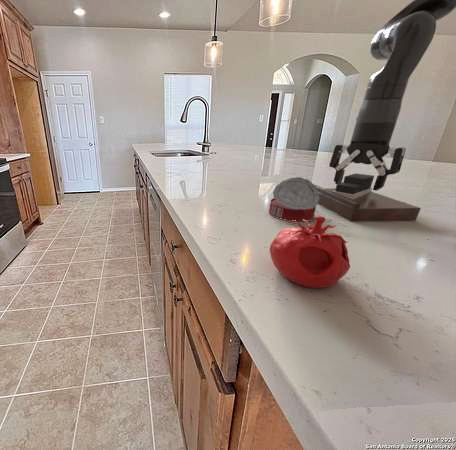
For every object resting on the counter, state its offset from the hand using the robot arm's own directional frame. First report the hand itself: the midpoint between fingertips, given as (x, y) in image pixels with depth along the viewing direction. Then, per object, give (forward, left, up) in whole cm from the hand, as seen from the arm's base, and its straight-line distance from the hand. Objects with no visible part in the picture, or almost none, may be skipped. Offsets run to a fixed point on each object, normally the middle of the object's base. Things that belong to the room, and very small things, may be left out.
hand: (355, 186), depth 65 cm
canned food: (+20, +8, -5) cm, 22 cm away
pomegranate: (+30, +34, -5) cm, 46 cm away
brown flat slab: (+2, +4, -5) cm, 6 cm away
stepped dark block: (+1, +1, -2) cm, 2 cm away
